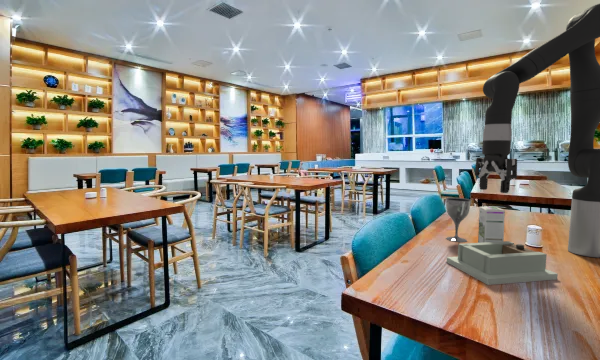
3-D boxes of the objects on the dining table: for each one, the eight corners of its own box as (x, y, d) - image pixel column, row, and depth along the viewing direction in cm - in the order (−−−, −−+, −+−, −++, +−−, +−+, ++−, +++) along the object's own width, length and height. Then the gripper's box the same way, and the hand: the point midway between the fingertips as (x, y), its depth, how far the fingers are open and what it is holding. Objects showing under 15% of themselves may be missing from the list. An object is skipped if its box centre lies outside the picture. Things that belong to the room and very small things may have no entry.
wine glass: (469, 238, 118) (471, 198, 116) (467, 243, 111) (469, 201, 110) (446, 235, 122) (447, 197, 120) (442, 240, 115) (444, 199, 114)
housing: (506, 258, 96) (507, 239, 96) (557, 279, 80) (559, 256, 80) (446, 262, 93) (447, 242, 92) (487, 284, 77) (489, 261, 76)
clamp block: (514, 257, 91) (515, 241, 91) (537, 267, 84) (538, 248, 84) (501, 258, 91) (503, 241, 90) (524, 268, 83) (525, 249, 83)
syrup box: (503, 255, 98) (506, 209, 97) (482, 254, 100) (485, 209, 98) (496, 250, 104) (498, 206, 103) (476, 249, 105) (478, 206, 104)
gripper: (527, 138, 92) (523, 194, 94) (489, 140, 106) (486, 188, 108) (504, 138, 91) (500, 194, 92) (470, 140, 105) (467, 188, 106)
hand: (493, 191), depth 100 cm, fingers open, 8 cm apart
